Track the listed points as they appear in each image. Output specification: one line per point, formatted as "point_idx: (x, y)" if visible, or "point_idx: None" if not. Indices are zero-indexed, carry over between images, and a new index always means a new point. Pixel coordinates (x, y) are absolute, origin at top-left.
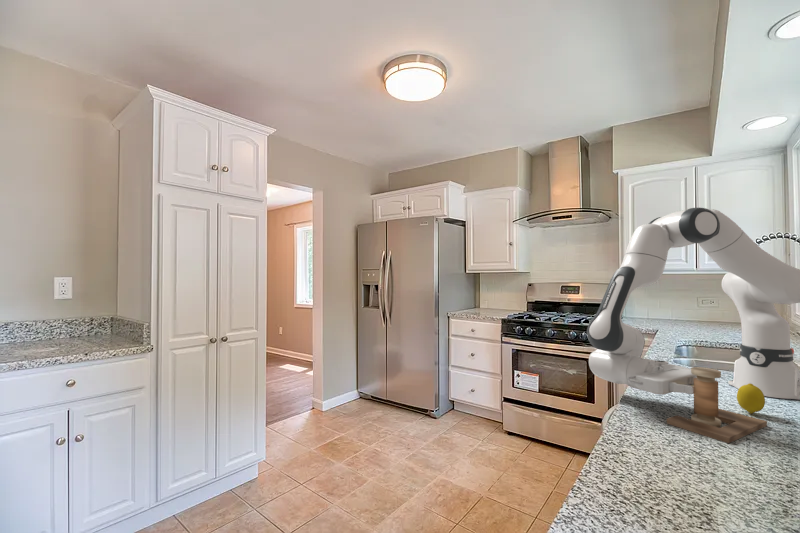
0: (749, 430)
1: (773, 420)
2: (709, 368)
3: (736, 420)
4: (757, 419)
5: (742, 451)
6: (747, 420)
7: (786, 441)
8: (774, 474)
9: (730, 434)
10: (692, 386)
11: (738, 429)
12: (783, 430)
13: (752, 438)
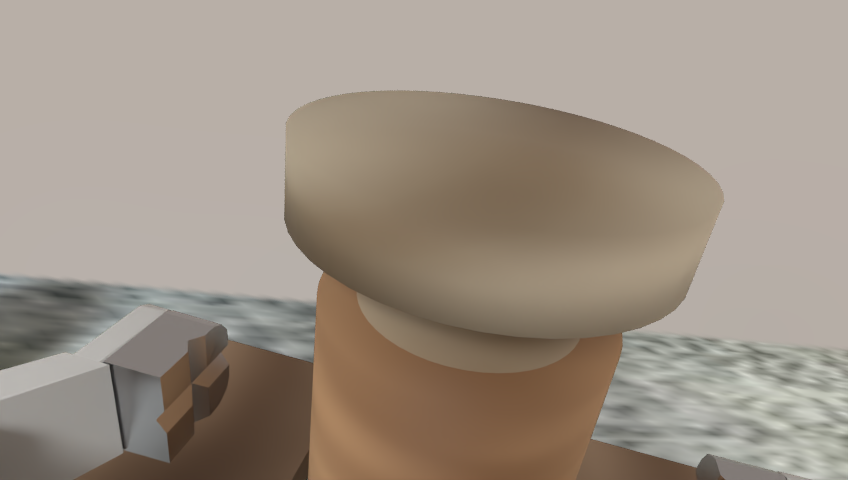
0: None
1: (45, 327)
2: (322, 111)
3: (294, 441)
4: None
5: (744, 449)
6: (243, 395)
7: None
8: (842, 378)
9: (646, 467)
10: (749, 470)
11: None
12: (229, 315)
13: None
